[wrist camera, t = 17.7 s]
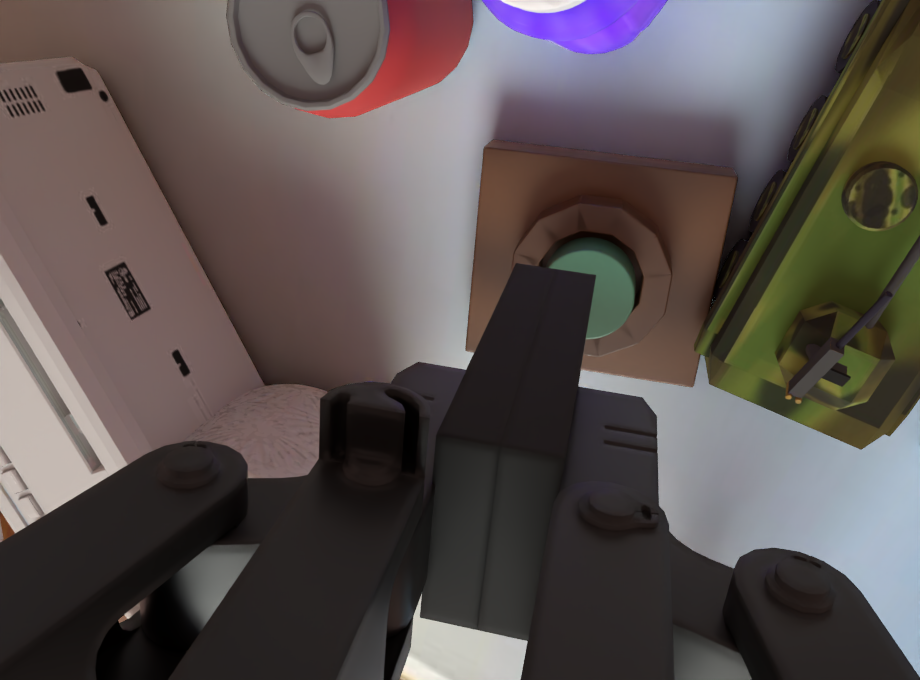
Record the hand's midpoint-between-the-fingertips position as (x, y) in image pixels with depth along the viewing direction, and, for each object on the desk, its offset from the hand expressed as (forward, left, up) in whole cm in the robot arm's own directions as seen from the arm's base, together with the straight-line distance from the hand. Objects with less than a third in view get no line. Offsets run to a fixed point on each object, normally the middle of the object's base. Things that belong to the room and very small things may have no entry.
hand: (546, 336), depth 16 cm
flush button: (+6, 0, -21) cm, 21 cm away
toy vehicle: (0, +12, -25) cm, 27 cm away
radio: (+9, -24, -24) cm, 35 cm away
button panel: (+6, 0, -24) cm, 25 cm away
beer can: (-4, -10, -25) cm, 27 cm away
